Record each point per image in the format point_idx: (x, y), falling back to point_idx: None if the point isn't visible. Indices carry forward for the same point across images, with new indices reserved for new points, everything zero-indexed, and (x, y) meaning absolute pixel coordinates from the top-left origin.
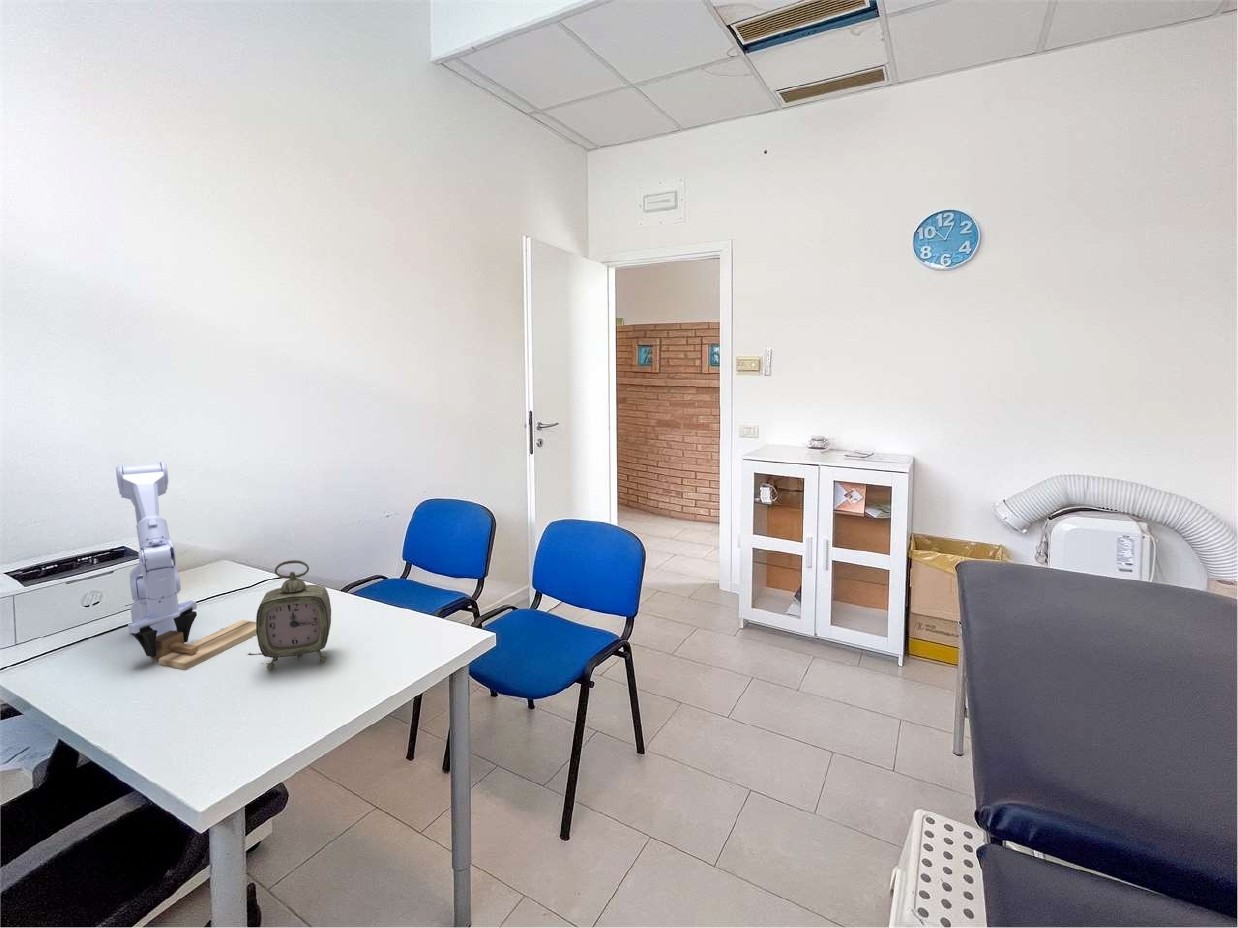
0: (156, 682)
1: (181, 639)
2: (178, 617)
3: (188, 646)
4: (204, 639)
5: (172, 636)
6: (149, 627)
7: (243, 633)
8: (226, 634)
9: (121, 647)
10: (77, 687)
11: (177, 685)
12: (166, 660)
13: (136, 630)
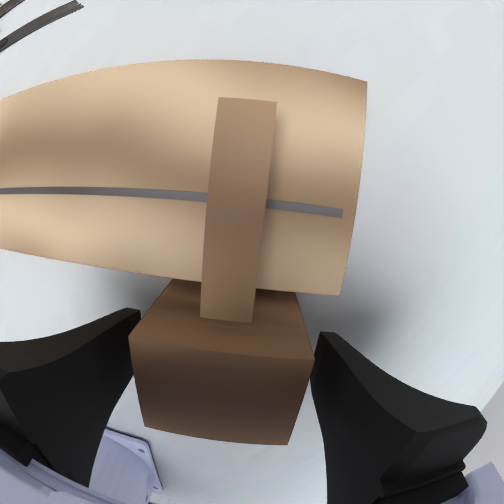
0: (459, 148)
1: (163, 314)
2: (68, 453)
3: (238, 165)
4: (79, 239)
5: (211, 359)
6: (398, 501)
7: (12, 108)
8: (23, 176)
9: (226, 476)
10: (464, 381)
11: (448, 51)
12: (351, 233)
13: (492, 478)
